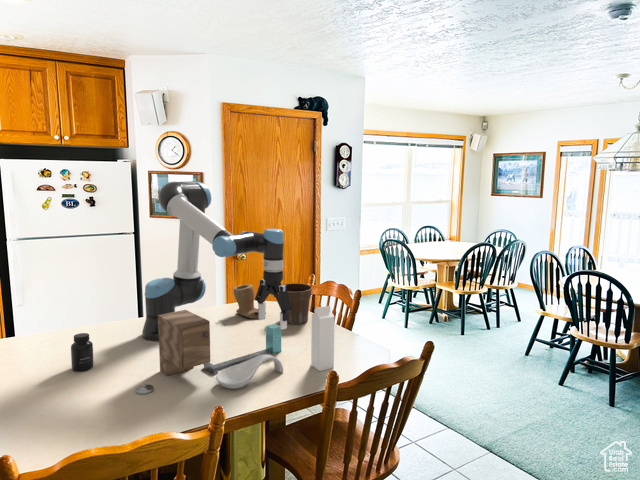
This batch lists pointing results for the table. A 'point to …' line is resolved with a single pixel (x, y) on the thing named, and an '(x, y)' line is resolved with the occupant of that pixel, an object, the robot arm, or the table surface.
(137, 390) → the steel token
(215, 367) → the scraper
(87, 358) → the supplement bottle
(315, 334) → the milk
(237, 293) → the brown boot
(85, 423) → the table surface
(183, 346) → the low cabinet
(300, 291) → the plant pot
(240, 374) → the spoon rest
